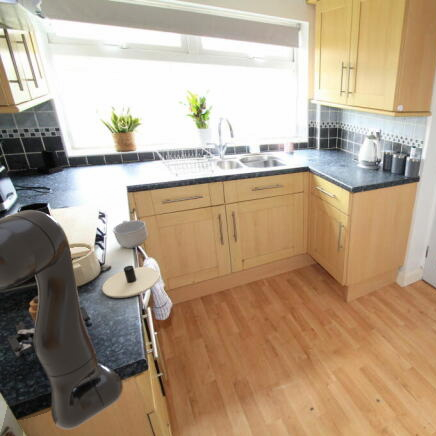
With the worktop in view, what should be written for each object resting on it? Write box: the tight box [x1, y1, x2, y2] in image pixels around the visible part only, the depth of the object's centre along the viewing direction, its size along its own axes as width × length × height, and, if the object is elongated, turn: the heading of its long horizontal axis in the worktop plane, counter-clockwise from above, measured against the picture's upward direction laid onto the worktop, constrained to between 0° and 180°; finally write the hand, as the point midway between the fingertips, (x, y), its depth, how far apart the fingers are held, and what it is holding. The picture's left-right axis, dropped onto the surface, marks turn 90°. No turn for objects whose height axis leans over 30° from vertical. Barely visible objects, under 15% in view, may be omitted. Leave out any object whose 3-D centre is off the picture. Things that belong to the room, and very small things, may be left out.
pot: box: [69, 242, 101, 287], centre depth 102 cm, size 15×20×8 cm
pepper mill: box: [28, 295, 38, 324], centre depth 78 cm, size 4×4×12 cm
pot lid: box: [101, 265, 161, 299], centre depth 100 cm, size 16×16×6 cm
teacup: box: [112, 219, 149, 249], centre depth 123 cm, size 14×11×8 cm
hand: (44, 315), depth 78 cm, fingers open, 8 cm apart
